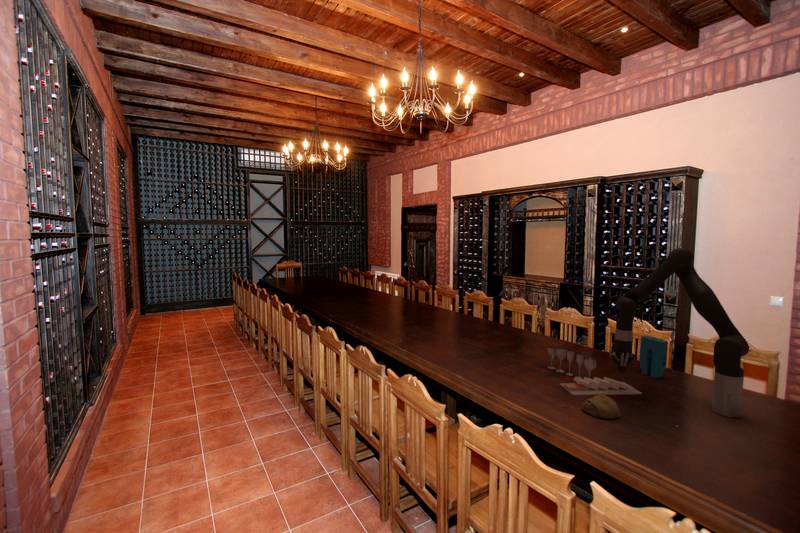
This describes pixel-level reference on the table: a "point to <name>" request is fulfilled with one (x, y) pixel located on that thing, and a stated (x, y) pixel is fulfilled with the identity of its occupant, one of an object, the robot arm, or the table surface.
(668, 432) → the table surface
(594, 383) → the ivory domino
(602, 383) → the ivory domino
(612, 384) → the ivory domino
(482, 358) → the table surface
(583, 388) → the terracotta domino
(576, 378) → the ivory domino
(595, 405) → the pastry
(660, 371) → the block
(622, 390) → the grey rubber mat
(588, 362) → the goblet set
